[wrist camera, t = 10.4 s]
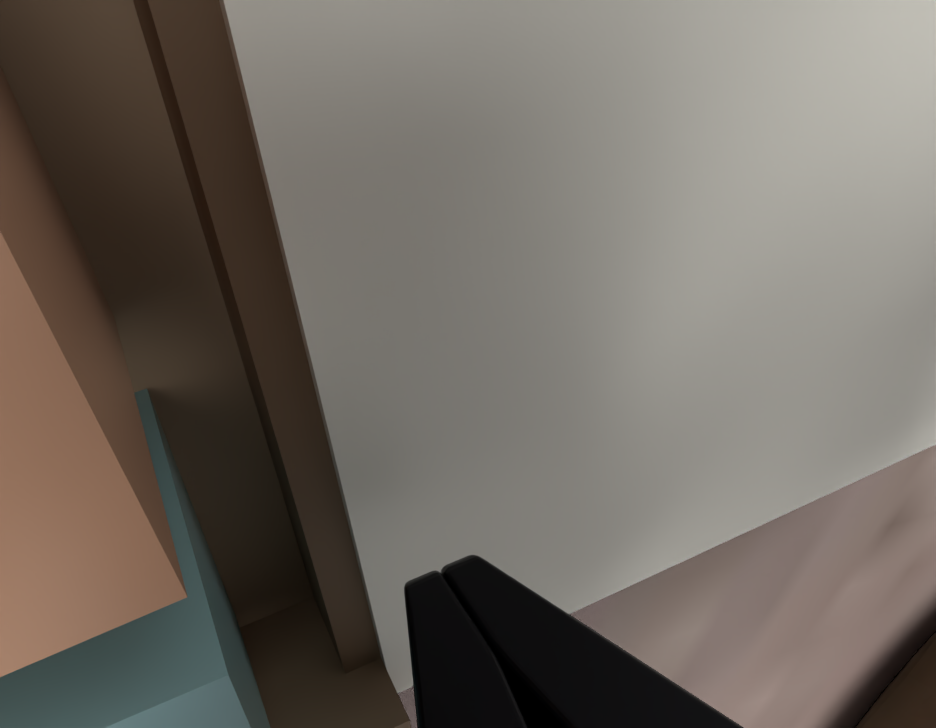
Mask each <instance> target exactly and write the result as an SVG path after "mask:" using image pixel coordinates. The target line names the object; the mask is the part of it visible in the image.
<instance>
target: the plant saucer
mask: <svg viewBox="0 0 936 728" xmlns="http://www.w3.org/2000/svg"><path fill="white" fill-rule="evenodd" d="M856 728H936V632H935V633H934V634H933V635H932V636H931V637H930V638H929V639H928V641H927V642H926V643H925V644H924V645H923V646H922V647H921V648H920V649H919V650H918V652H917V653H916V654H915V655H914V656H913V657H912V658H911V660H910V661H909V662H908V663H907V664H906V665H905V667H904V668H903V669H902V670H901V671H900V672H899V674H898V675H897V676H896V677H895V678H894V680H893V681H892V682H891V683H890V684H889V685H888V687H887V688H886V689H885V690H884V692H883V693H882V694H881V695H880V697H879V698H878V699H877V700H876V702H875V703H874V704H873V705H872V707H871V708H870V709H869V711H868V712H867V713H866V714H865V716H864V717H863V718H862V719H861V721H860V722H859V723H858V725H857V726H856Z"/></svg>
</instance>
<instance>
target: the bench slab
mask: <svg viewBox="0 0 936 728" xmlns="http://www.w3.org/2000/svg"><path fill="white" fill-rule="evenodd" d="M219 2H220V6H221V10H222V14H223V18H224V22H225V26H226V30H227V34H228V38H229V43H230V47H231V51H232V55H233V59H234V63H235V67H236V71H237V75H238V79H239V83H240V87H241V91H242V95H243V99H244V103H245V107H246V111H247V116H248V120H249V124H250V128H251V132H252V136H253V140H254V144H255V148H256V152H257V156H258V160H259V164H260V168H261V172H262V176H263V180H264V184H265V189H266V193H267V197H268V201H269V205H270V209H271V213H272V217H273V221H274V225H275V229H276V233H277V237H278V241H279V245H280V249H281V253H282V257H283V262H284V266H285V270H286V274H287V278H288V282H289V286H290V290H291V294H292V298H293V302H294V306H295V310H296V314H297V318H298V322H299V326H300V330H301V335H302V339H303V343H304V347H305V351H306V355H307V359H308V363H309V367H310V371H311V375H312V379H313V383H314V387H315V391H316V395H317V399H318V403H319V408H320V412H321V416H322V420H323V424H324V428H325V432H326V436H327V440H328V444H329V448H330V452H331V456H332V460H333V464H334V468H335V472H336V476H337V481H338V485H339V489H340V493H341V497H342V501H343V505H344V509H345V513H346V517H347V521H348V525H349V529H350V533H351V537H352V541H353V545H354V549H355V554H356V558H357V562H358V566H359V570H360V574H361V578H362V582H363V586H364V590H365V594H366V598H367V602H368V606H369V610H370V614H371V618H372V622H373V627H374V631H375V635H376V639H377V643H378V647H379V651H380V655H381V658H382V661H383V663H384V665H385V667H386V669H387V672H388V674H389V676H390V678H391V680H392V683H393V685H394V687H395V689H396V691H397V694H398V693H400V692H402V691H405V690H407V689H409V688H411V687H413V676H412V666H411V656H410V646H409V636H408V626H407V616H406V606H405V596H404V586H405V583H406V582H408V581H409V580H412V579H414V578H416V577H419V576H421V575H423V574H426V573H428V572H430V571H435V570H436V571H439V572H440V573H441V569H442V568H443V567H444V566H445V565H447V564H449V563H452V562H454V561H456V560H459V559H461V558H463V557H466V556H468V555H477V556H480V557H481V558H483V559H485V560H486V561H488V562H489V563H491V564H492V565H494V566H495V567H497V568H498V569H500V570H502V571H503V572H505V573H506V574H508V575H509V576H511V577H512V578H514V579H515V580H517V581H519V582H520V583H522V584H523V585H525V586H526V587H528V588H529V589H531V590H532V591H534V592H535V593H537V594H539V595H540V596H542V597H543V598H545V599H546V600H548V601H549V602H551V603H552V604H554V605H555V606H557V607H559V608H560V609H562V610H563V611H565V612H566V613H568V614H571V613H573V612H575V611H577V610H579V609H582V608H584V607H586V606H588V605H590V604H592V603H595V602H597V601H599V600H601V599H603V598H605V597H607V596H610V595H612V594H614V593H616V592H618V591H620V590H623V589H625V588H627V587H629V586H631V585H633V584H636V583H638V582H640V581H642V580H644V579H646V578H648V577H651V576H653V575H655V574H657V573H659V572H661V571H664V570H666V569H668V568H670V567H672V566H674V565H677V564H679V563H681V562H683V561H685V560H687V559H690V558H692V557H694V556H696V555H698V554H700V553H702V552H705V551H707V550H709V549H711V548H713V547H715V546H718V545H720V544H722V543H724V542H726V541H728V540H731V539H733V538H735V537H737V536H739V535H741V534H743V533H746V532H748V531H750V530H752V529H754V528H756V527H759V526H761V525H763V524H765V523H767V522H769V521H772V520H774V519H776V518H778V517H780V516H782V515H785V514H787V513H789V512H791V511H793V510H795V509H797V508H800V507H802V506H804V505H806V504H808V503H810V502H813V501H815V500H817V499H819V498H821V497H823V496H826V495H828V494H830V493H832V492H834V491H836V490H839V489H841V488H843V487H845V486H847V485H849V484H851V483H854V482H856V481H858V480H860V479H862V478H864V477H867V476H869V475H871V474H873V473H875V472H877V471H880V470H882V469H884V468H886V467H888V466H890V465H892V464H895V463H897V462H899V461H901V460H903V459H905V458H908V457H910V456H912V455H914V454H916V453H918V452H921V451H923V450H925V449H927V448H929V447H931V446H934V445H936V0H219Z"/></svg>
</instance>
